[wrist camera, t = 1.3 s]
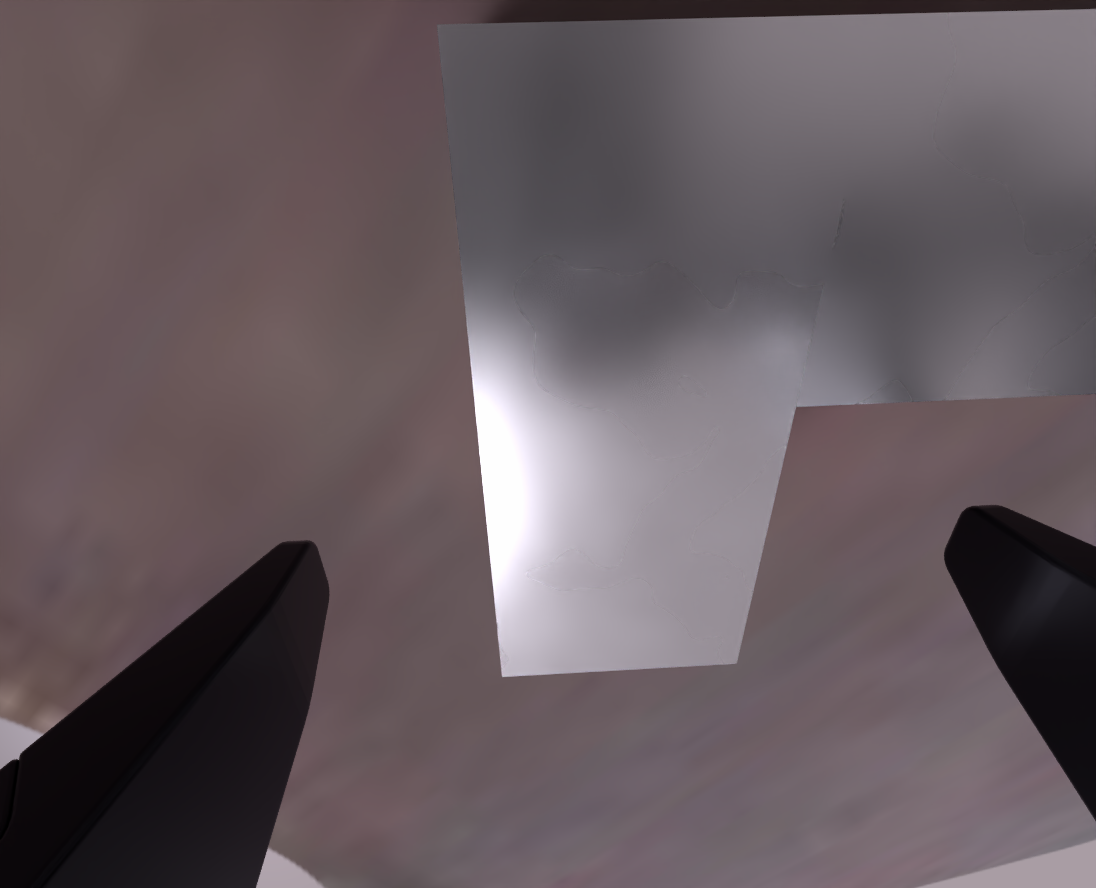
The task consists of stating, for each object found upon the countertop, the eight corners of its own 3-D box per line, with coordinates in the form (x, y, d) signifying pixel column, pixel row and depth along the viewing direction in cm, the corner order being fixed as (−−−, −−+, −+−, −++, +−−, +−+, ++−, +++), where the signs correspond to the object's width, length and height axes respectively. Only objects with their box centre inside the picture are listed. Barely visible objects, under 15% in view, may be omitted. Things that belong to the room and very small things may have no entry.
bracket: (471, 44, 9) (436, 24, 5) (964, 32, 10) (1315, 4, 5) (505, 496, 14) (502, 676, 10) (833, 480, 14) (965, 650, 10)
